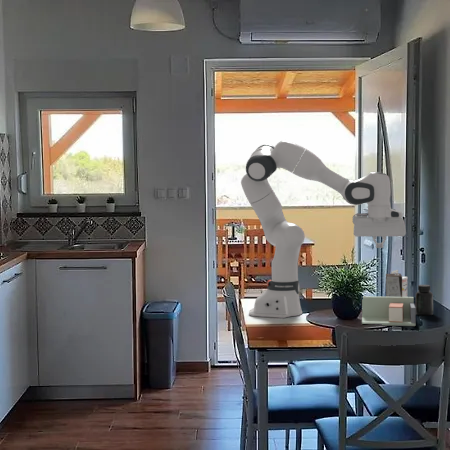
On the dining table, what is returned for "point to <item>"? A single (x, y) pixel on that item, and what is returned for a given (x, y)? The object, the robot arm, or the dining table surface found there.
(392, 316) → the beige box
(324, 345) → the dining table surface
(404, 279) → the ink cartridge box
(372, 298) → the pale green storage bin
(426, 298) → the supplement bottle
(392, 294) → the coffee box
